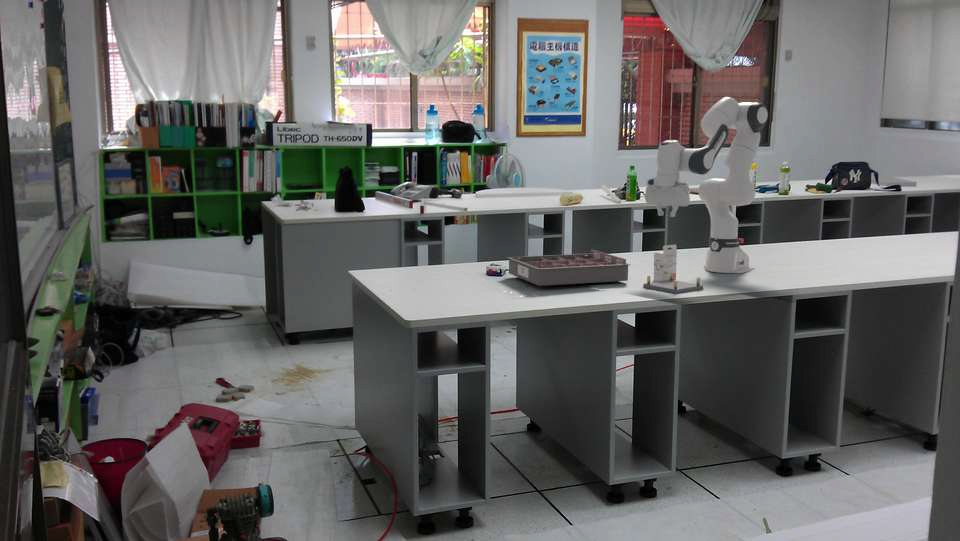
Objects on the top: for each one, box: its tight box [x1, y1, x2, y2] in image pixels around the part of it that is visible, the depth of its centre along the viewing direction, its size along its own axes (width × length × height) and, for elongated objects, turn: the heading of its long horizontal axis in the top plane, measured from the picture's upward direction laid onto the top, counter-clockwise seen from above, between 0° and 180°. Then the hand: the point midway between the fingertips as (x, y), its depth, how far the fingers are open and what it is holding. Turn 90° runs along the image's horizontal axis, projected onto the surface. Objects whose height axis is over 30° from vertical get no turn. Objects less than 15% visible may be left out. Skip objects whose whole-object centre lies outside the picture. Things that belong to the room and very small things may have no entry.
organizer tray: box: [506, 249, 631, 287], centre depth 359 cm, size 32×40×10 cm
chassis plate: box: [642, 273, 704, 295], centre depth 342 cm, size 16×16×4 cm
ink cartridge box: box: [653, 244, 678, 282], centre depth 359 cm, size 9×5×15 cm, turn 129°
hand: (666, 216), depth 356 cm, fingers open, 5 cm apart
